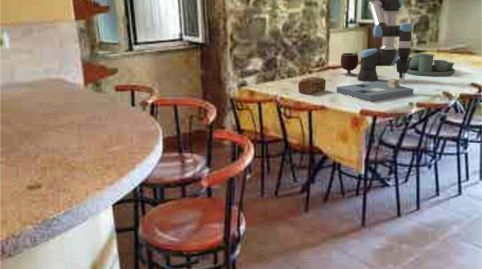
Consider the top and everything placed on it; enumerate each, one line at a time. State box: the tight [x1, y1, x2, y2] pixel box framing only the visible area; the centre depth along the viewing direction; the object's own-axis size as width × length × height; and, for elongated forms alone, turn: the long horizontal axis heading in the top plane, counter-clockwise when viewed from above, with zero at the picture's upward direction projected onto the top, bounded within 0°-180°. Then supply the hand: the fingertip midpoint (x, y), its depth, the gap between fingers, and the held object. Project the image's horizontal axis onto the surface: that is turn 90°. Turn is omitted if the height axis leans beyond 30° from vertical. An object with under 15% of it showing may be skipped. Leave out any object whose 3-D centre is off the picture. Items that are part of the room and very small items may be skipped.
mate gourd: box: [340, 51, 359, 77], centre depth 385 cm, size 16×14×20 cm
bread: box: [297, 76, 327, 95], centre depth 328 cm, size 19×11×10 cm, turn 135°
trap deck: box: [336, 80, 414, 102], centre depth 319 cm, size 38×32×4 cm
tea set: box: [405, 51, 456, 77], centre depth 392 cm, size 40×40×16 cm
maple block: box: [387, 78, 401, 88], centre depth 320 cm, size 5×5×5 cm
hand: (401, 82), depth 322 cm, fingers closed
